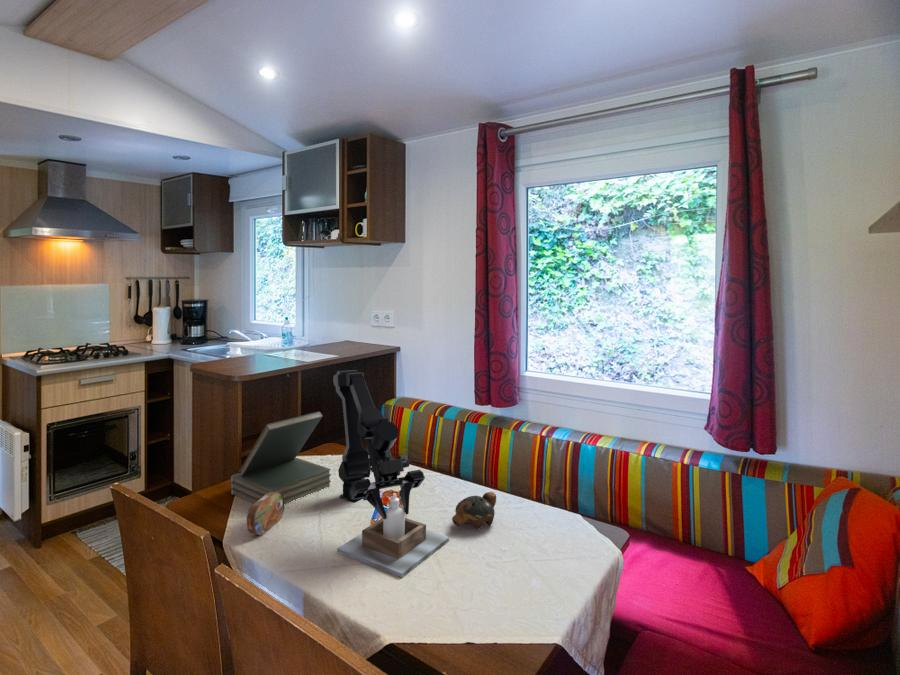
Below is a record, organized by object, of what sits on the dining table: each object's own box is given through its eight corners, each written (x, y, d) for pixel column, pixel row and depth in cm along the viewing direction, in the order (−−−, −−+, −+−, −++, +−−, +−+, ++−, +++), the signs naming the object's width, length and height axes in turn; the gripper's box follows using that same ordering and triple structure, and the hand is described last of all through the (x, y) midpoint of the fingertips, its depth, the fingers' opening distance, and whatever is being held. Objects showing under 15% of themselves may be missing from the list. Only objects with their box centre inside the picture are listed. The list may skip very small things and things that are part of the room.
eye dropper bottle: (381, 536, 132) (381, 491, 130) (403, 533, 133) (403, 489, 132) (384, 545, 128) (384, 498, 126) (406, 542, 129) (407, 496, 128)
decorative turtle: (506, 520, 146) (507, 494, 144) (469, 542, 135) (469, 514, 134) (480, 508, 152) (481, 482, 151) (443, 527, 142) (443, 501, 140)
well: (388, 520, 144) (388, 503, 144) (449, 540, 134) (449, 522, 133) (337, 552, 127) (336, 532, 127) (402, 577, 117) (402, 556, 116)
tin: (255, 541, 132) (255, 509, 131) (244, 540, 133) (243, 508, 132) (285, 515, 147) (285, 486, 146) (275, 514, 147) (275, 485, 146)
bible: (292, 473, 179) (291, 402, 176) (330, 487, 168) (330, 412, 165) (231, 495, 161) (228, 416, 158) (269, 512, 149) (267, 427, 146)
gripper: (353, 449, 127) (368, 511, 119) (422, 440, 136) (440, 496, 127) (344, 469, 135) (357, 528, 126) (409, 459, 144) (426, 513, 135)
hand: (396, 516), depth 129 cm, fingers closed on eye dropper bottle, 6 cm apart
